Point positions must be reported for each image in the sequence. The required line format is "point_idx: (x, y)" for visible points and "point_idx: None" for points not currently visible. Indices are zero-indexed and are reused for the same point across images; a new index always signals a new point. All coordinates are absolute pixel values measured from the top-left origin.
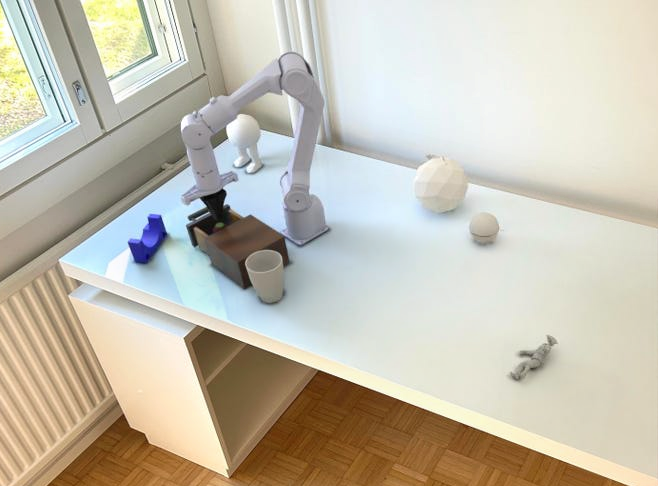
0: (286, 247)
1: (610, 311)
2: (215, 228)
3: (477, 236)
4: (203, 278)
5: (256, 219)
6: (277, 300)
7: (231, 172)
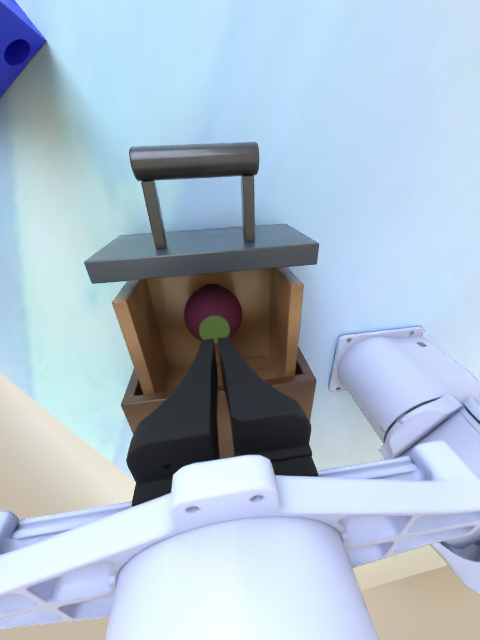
0: None
1: (401, 553)
2: (196, 325)
3: None
4: (106, 365)
5: (307, 407)
6: None
7: (476, 502)
